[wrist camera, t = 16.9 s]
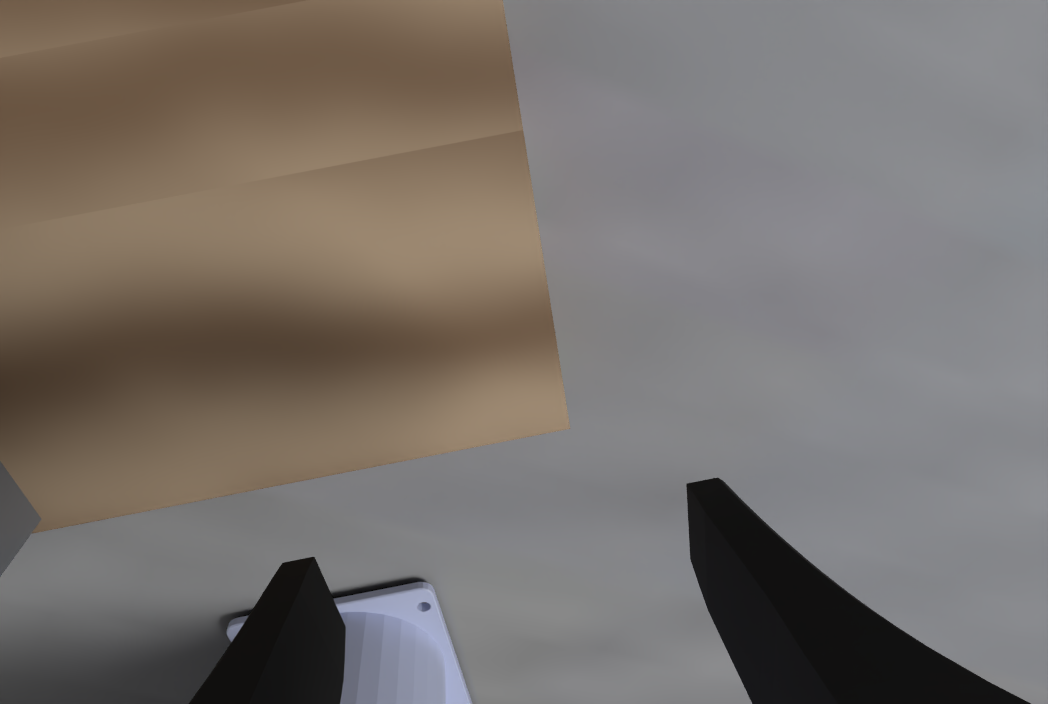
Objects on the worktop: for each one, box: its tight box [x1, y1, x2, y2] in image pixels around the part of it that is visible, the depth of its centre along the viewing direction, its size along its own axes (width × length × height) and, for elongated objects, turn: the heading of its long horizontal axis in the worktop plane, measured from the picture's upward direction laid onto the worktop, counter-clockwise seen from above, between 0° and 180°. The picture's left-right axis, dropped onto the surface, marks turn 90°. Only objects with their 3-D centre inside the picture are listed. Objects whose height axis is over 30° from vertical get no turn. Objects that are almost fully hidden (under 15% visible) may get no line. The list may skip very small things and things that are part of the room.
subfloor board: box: [0, 0, 570, 534], centre depth 18 cm, size 15×26×2 cm, turn 99°
